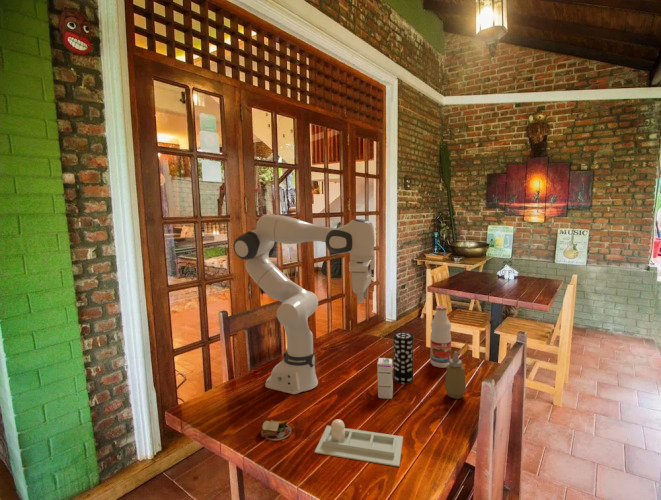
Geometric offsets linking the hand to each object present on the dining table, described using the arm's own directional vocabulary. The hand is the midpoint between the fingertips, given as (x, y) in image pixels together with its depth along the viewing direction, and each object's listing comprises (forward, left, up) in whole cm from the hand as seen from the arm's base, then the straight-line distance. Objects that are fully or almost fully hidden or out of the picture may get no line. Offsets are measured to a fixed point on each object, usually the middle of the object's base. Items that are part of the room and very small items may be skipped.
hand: (363, 300), depth 135 cm
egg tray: (+3, -24, -41) cm, 48 cm away
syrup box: (+7, +9, -42) cm, 43 cm away
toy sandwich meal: (-26, -24, -42) cm, 55 cm away
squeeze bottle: (+34, +15, -42) cm, 56 cm away
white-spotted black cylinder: (+13, +24, -42) cm, 50 cm away
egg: (-4, -24, -41) cm, 47 cm away
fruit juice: (+29, +44, -42) cm, 67 cm away
